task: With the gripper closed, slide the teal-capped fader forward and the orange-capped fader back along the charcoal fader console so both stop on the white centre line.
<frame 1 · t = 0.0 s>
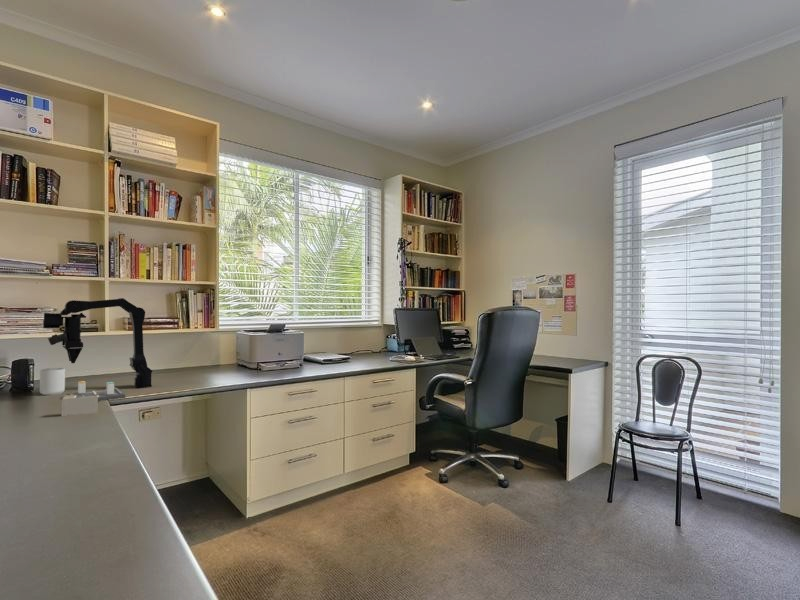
hand: (71, 362, 187), 15 cm above the table, fingers open, 9 cm apart
fader orange: (81, 387, 182), point 4 cm above the table, slide at 4.5 cm
model: (80, 415, 155), on the table
fader teal: (110, 388, 181), point 4 cm above the table, slide at -4.5 cm
mug: (53, 393, 190), on the table
console: (95, 397, 181), on the table
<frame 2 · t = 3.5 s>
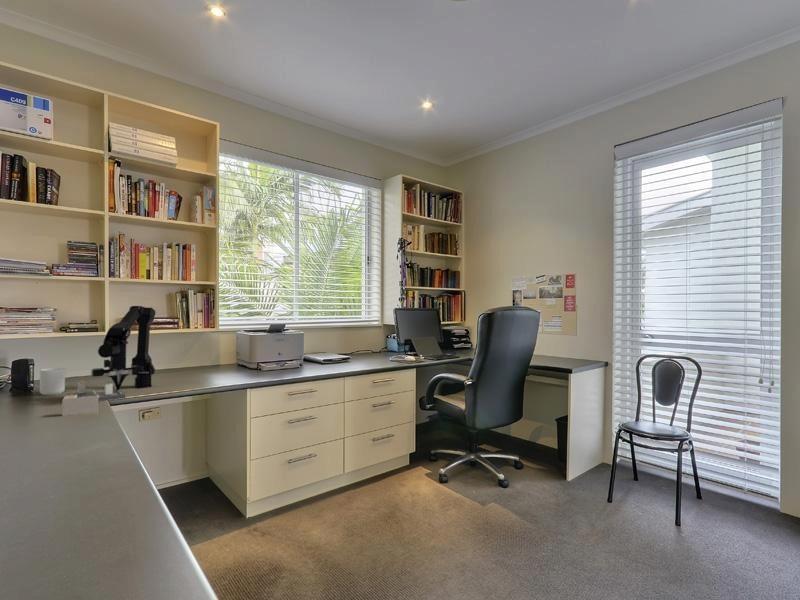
hand: (117, 390, 183), 3 cm above the table, fingers closed
fader teal: (108, 388, 181), point 4 cm above the table, slide at -3.9 cm, touching gripper
everything else where it was.
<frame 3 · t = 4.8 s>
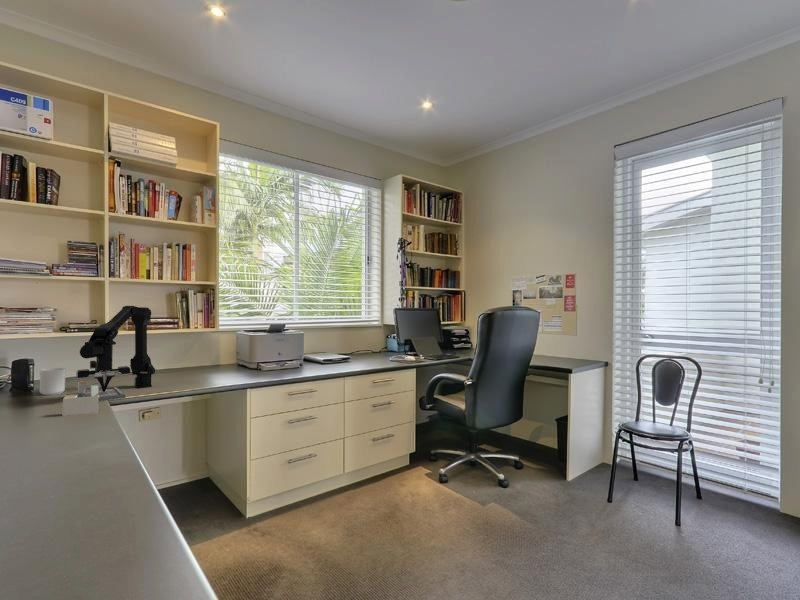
hand: (103, 391, 179), 3 cm above the table, fingers closed
fader teal: (94, 389, 177), point 4 cm above the table, slide at 1.1 cm, touching gripper
everything else where it was.
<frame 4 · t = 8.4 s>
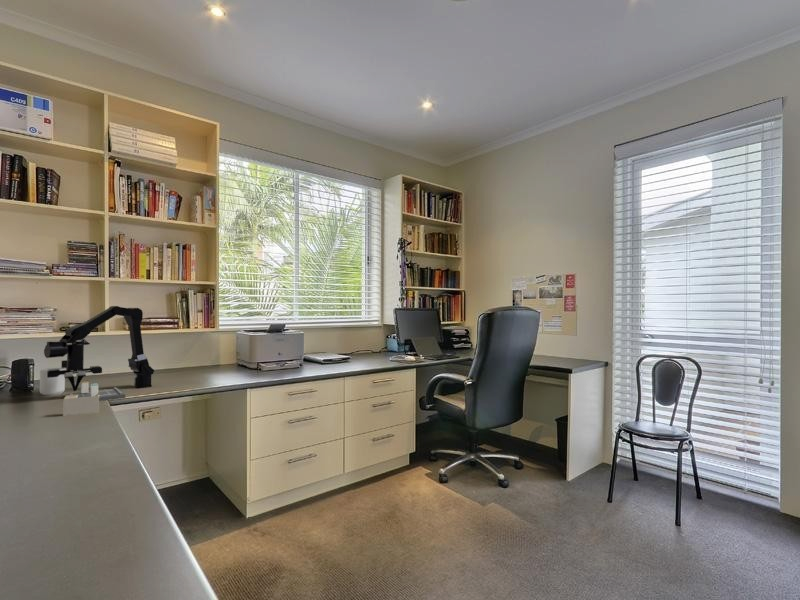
hand: (74, 391, 180), 3 cm above the table, fingers closed
fader orange: (84, 386, 183), point 4 cm above the table, slide at 3.4 cm, touching gripper
fader teal: (94, 389, 177), point 4 cm above the table, slide at 1.1 cm
everything else where it was.
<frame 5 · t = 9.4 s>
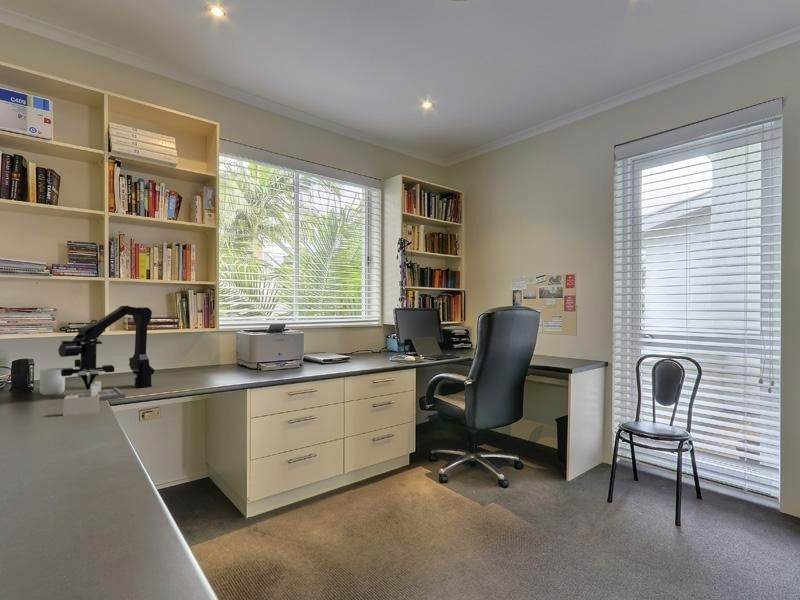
hand: (87, 389, 184), 3 cm above the table, fingers closed
fader orange: (97, 385, 186), point 4 cm above the table, slide at -1.1 cm, touching gripper
everything else where it was.
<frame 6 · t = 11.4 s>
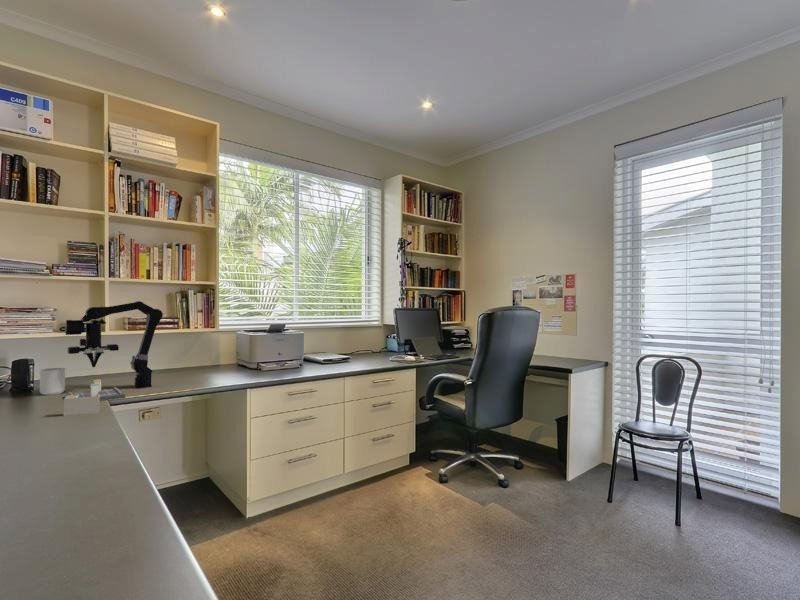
hand: (93, 367, 192), 12 cm above the table, fingers closed
fader orange: (97, 385, 186), point 4 cm above the table, slide at -1.1 cm
everything else where it was.
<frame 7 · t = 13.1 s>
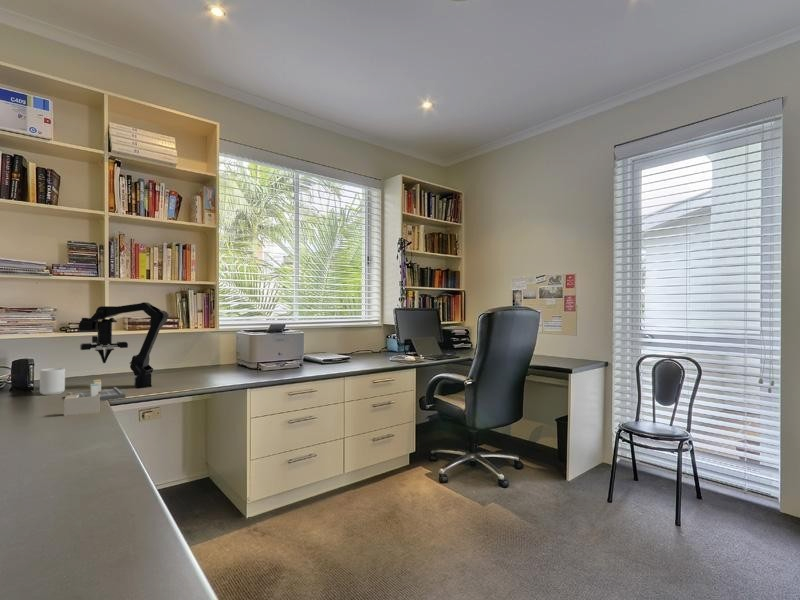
hand: (104, 363, 203), 12 cm above the table, fingers closed
nothing on the table moved.
at the end: fader teal slide at 1.1 cm; fader orange slide at -1.1 cm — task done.
